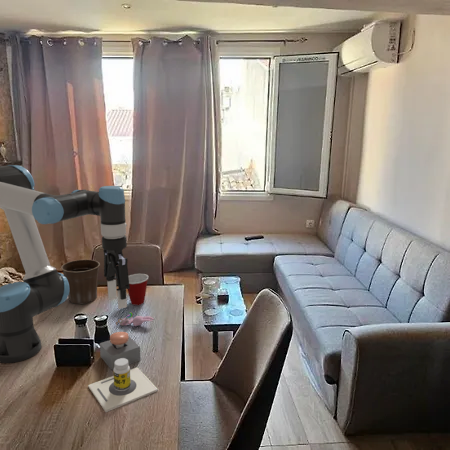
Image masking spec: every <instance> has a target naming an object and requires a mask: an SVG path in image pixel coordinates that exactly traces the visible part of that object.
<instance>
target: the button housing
mask: <svg viewBox="0 0 450 450" xmlns="http://www.w3.org/2000/svg"><path fill="white" fill-rule="evenodd" d="M99 354H100V355H99V356H100V358H101V359H102V360H103V361H104V363H105V364H106V365H107V366H108V368H109V369H110V370H111V371H113V369H114V362H115V361H116V360H117V359H120V358H125V359H127V360H128V364H129V365H132V364H134V363H136V362H139V361H141V346H140V345H139V344H138V343H137V342H136V341H135V340H133V339H132V337H130V336H129V340H128V342H126V343H124V347H122V348H119V349H116V345H114V344H112V343H111V342H110V339H109V340H105V341H102V342H100V343H99Z"/></svg>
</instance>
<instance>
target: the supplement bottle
mask: <svg viewBox="0 0 450 450" xmlns="http://www.w3.org/2000/svg"><path fill="white" fill-rule="evenodd" d="M130 370H131V367H130V364H128V360H127V359H125V358H120V359H117V360H116V361H115V362H114V369H113V370H112V371H113V376H114V388H115V390H117V391H125V390H127V389H129V388H130V385H131V383H130Z"/></svg>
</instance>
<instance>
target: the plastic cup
mask: <svg viewBox="0 0 450 450" xmlns="http://www.w3.org/2000/svg"><path fill="white" fill-rule="evenodd" d="M128 276H129V286H130V288H129V289H127V293H128V296H129V300H130V304H131V305H133V306H141V305H144V303H145V299H146V295H147V294H146V293H147V285H148V280H149V275H148V274H145V273H134V274H130V275H128Z"/></svg>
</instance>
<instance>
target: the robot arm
mask: <svg viewBox="0 0 450 450" xmlns="http://www.w3.org/2000/svg"><path fill="white" fill-rule="evenodd" d="M0 209H1V210H3V212H4V214H5V218H6V220H7V223H8V226H9V229H10V233H11V235H12V238H13V241H14V244H15V247H16V249H17V252H18V254H19V258H20V260H21V264H22V267H23V269H24V271H25V275H24V277H23V279H22V281H16V282H13V283H11V282H10V283H7V284H4V285H2V286H0V363H1V364H10V363H11V364H13V363H18V362H22V361H26V360H28V359H30V358H32V357H33V356H35V355H37V354H38V353H39V352H40V351H41V349H42V341H41V339H40V337H39V335H38V332H37V331H36V329H35V327H34V326H35V325H34V317H35V316H37V315H38V316H39V315H41V314H42V313H44V312H46V311H49V310H52V309H53V308H57V307H58V306H59V305H61V304H63V303H64V302H66V301H67V299H68V295H69V283H68V280H67V278H66V277H64V275H63V272H62V273H61V272H58V270H57V268H56V267H55V266H52V265H51V263H50V260H49V258H48V255H47V252H46V248H45V246H44V243H43V240H42V237H41V235H40V231H39V228H38V226H37V223H39V224H40V225H48V224H51V225H52V224H56V223H60V222H63V221H67V220H71V219H76V218H79V217H84V216H88V215H89V216H91V215H92V216H97V217H99V218H100V235H101V236H102V237H101V247H102V249H103V250H102V251H103V276H104V278H105V279H106V283H107V299H108V301H112V300H117V308H118V310H122V309H125V308H127V307H128V296H127V293H128V292H127V290H128V289H129V288H130V286H129V276H130V275H129V269H128V261H129V259H128V257H124V253H123V250H124V249H126V248H127V247H128V242H127V236H126V235H127V227H128V225H127V222H126V198H125V189H124V188H123V187H122V186H119V185H104V186H101V187H100V188H99V189H98V191H96V190H95V191H94V190H89V189H88V190H87V189H75V190H73V191H72V192H71V193H70V192H69V193H66V194H59V195H55V194H50V193H46V192H42V191H40V190H39V191H38V190H35V181H34V177H33V176H32V174H31V173H30V171H29V170H28V169H27V168H25V167H24V166H23V165H22V166H21V165H14V164H8V165H7V164H6V165H0ZM36 221H37V223H36ZM117 287H118V288H117Z"/></svg>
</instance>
